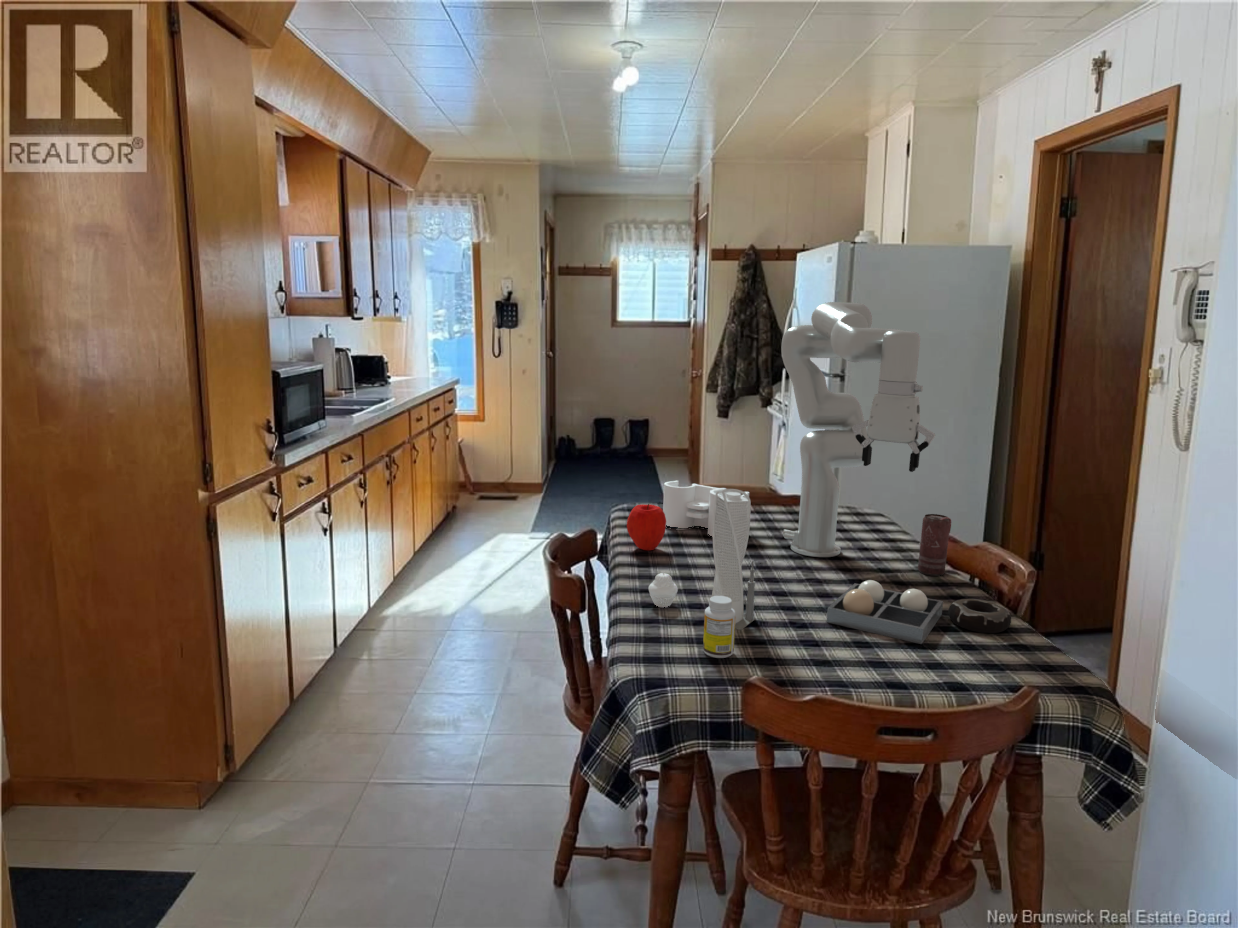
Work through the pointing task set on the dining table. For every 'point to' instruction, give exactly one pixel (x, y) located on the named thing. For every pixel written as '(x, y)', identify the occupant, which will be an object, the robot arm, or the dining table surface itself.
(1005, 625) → the donut
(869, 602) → the brown egg
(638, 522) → the apple
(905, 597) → the white ball
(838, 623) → the grey shallow tray
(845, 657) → the dining table surface
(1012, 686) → the dining table surface
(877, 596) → the egg left
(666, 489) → the bracket
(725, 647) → the supplement bottle
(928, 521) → the can
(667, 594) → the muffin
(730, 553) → the skyscraper
